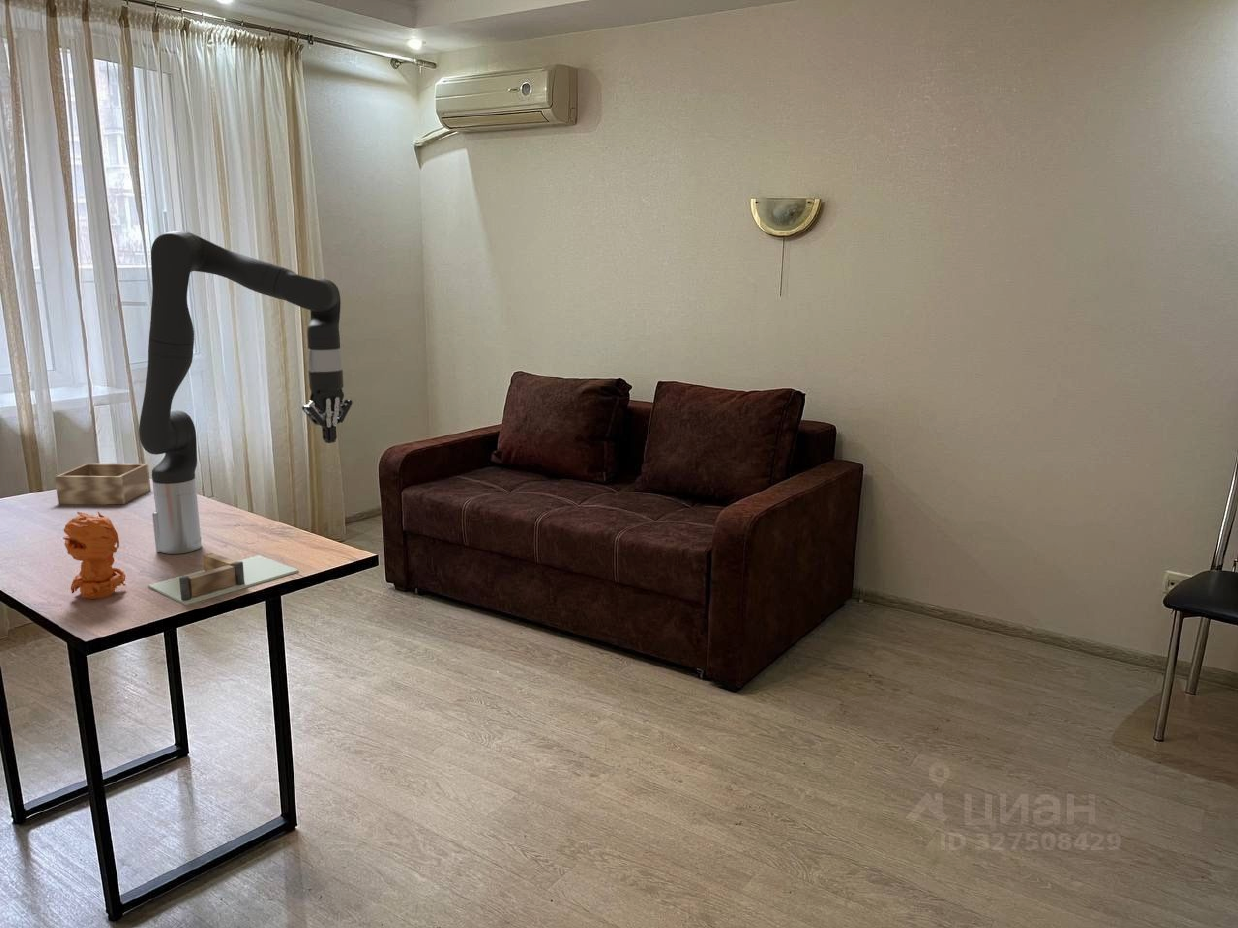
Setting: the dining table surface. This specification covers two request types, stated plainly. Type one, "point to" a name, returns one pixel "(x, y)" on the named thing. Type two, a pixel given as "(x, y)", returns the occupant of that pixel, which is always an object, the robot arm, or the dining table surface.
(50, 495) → the dining table surface
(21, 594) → the dining table surface
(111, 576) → the toy dinosaur
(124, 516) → the dining table surface
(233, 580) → the fence fixed
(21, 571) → the dining table surface
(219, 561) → the rail
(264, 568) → the card
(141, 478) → the toy crate
